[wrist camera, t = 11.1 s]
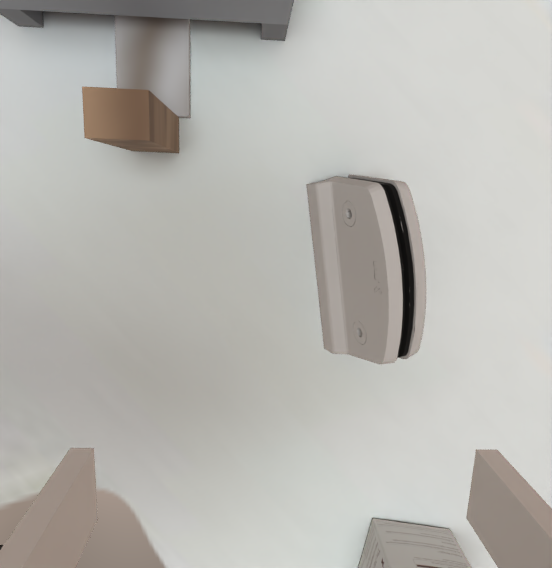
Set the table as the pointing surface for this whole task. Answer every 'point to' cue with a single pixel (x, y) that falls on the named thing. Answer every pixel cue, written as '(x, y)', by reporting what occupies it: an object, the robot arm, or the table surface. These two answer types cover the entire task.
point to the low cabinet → (161, 11)
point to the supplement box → (410, 547)
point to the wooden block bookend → (143, 87)
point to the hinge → (368, 267)
